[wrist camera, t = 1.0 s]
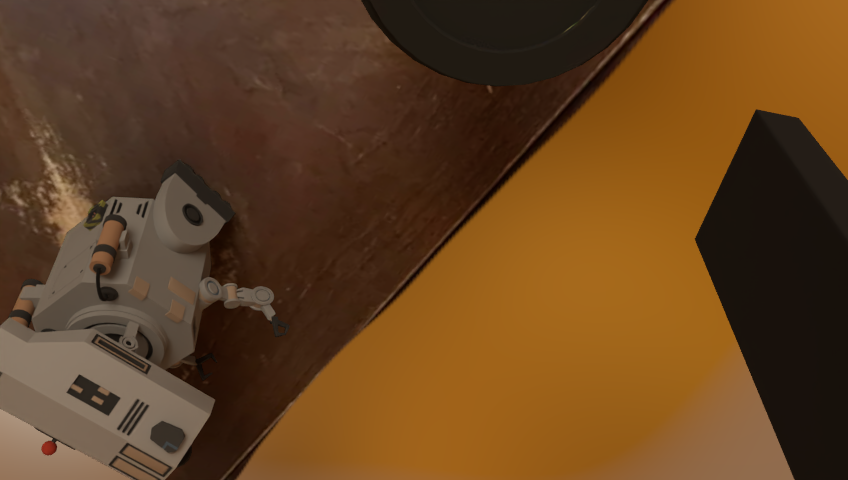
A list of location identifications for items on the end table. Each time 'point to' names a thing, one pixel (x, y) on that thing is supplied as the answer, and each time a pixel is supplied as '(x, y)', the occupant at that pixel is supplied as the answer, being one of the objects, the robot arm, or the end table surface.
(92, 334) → the figurine
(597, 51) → the coffee cup
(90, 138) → the end table surface
